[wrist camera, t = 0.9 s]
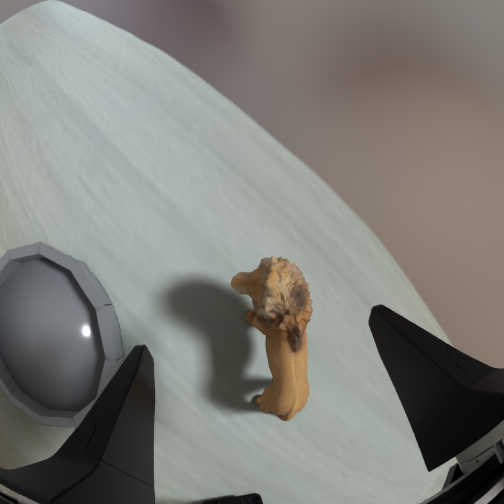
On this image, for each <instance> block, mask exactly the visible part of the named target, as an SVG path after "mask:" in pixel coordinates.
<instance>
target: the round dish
mask: <svg viewBox="0 0 504 504" xmlns="http://www.w3.org/2000/svg"><path fill="white" fill-rule="evenodd" d="M112 304H113V303H112V302H111V300H110V298H109V296H108V294H107V293H106V291H105V289H104V288H103V286H102V284H101V283H100V282H99V280H98V279H97V278H96V277H95V275H94V274H93V273H92V272H91V271H90V269H89V268H88V266H87V265H86V264H85V263H84V262H82V261H79V260H77V259H75V258H73V257H72V256H70V255H67V254H65V253H63V252H61V251H59V250H57V249H55V248H53V247H52V246H49V245H47V244H44V243H42V242H38V243H34V244H30V245H26V246H22V247H18V248H14V249H11V250H8V251H7V252H6V253H5V254H4V256H3V257H2V258H1V259H0V388H1V389H2V391H3V393H4V394H5V396H6V397H7V399H8V400H9V401H10V402H11V403H12V404H14V405H15V406H16V407H18V408H19V409H20V410H22V411H23V412H24V413H26V414H27V415H29V416H30V417H31V418H33V419H34V420H36V421H37V422H39V423H40V424H42V425H50V426H60V427H73V428H77V427H78V426H79V424H80V423H81V422H82V420H83V419H84V417H85V416H86V414H87V413H88V411H89V410H91V407H92V406H93V404H94V403H95V401H96V400H97V398H98V397H99V396H100V394H101V393H102V391H103V390H104V388H105V387H106V386H107V384H108V383H109V381H110V380H111V378H112V377H113V376H114V374H115V373H116V371H117V370H118V369H119V367H120V366H121V364H122V360H123V357H124V356H123V355H124V354H123V350H122V338H121V331H120V327H119V323H118V319H117V316H116V313H115V310H114V305H112Z"/></svg>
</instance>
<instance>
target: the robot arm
mask: <svg viewBox="0 0 504 504" xmlns="http://www.w3.org/2000/svg"><path fill="white" fill-rule="evenodd" d="M369 327H370V330H371V332H372V335H373V338H374V341H375V344H376V346H377V349H378V352H379V355H380V357H381V359H382V361H383V364H384V366H385V368H386V370H387V372H388V374H389V376H390V379H391V381H392V383H393V385H394V387H395V390H396V392H397V394H398V397H399V399H400V401H401V403H402V406H403V408H404V410H405V413H406V415H407V418H408V420H409V422H410V425H411V427H412V430H413V432H414V435H415V438H416V440H417V443H418V446H419V448H420V451H421V454H422V456H423V459H424V462H425V465H426V467H427V470H428V472H430V471H432V470H434V469H435V468H437V467H439V466H441V465H442V464H444V463H446V462H447V461H449V460H450V459H452V458H454V457H456V460H457V463H456V464H455V465H453V466H452V467H450V469H449V472H448V475H447V478H446V480H445V483H444V486H443V488H442V490H441V491H440V492H438V493H437V494H435V495H433V496H432V497H430V498H429V499H427V500H425V501H423V502H422V503H420V504H504V368H503V369H499V368H493V367H490V366H488V365H486V364H484V363H482V362H480V361H478V360H476V359H474V358H472V357H470V356H468V355H466V354H464V353H463V352H461V351H459V350H457V349H456V348H454V347H452V346H451V345H449V344H447V343H446V342H444V341H442V340H441V339H439V338H437V337H436V336H434V335H432V334H431V333H429V332H428V331H426V330H424V329H423V328H421V327H419V326H418V325H416V324H414V323H413V322H411V321H409V320H408V319H406V318H404V317H403V316H401V315H399V314H397V313H396V312H394V311H392V310H391V309H389V308H387V307H386V306H384V305H381V304H380V305H376V306H373V307H372V310H371V313H370V317H369ZM154 416H155V380H154V361H153V357H152V356H151V354H150V352H149V350H148V348H147V346H146V345H136V346H135V347H134V348H133V349H132V351H131V352H130V353H129V355H128V356H127V358H126V359H125V360H124V362H123V363H122V364H121V366H120V367H119V369H118V370H117V371H116V373H115V374H114V376H113V377H112V378H111V380H110V381H109V383H108V384H107V386H106V387H105V388H104V390H103V391H102V393H101V394H100V396H99V397H98V398H97V400H96V401H95V403H94V404H93V406H92V407H91V410H89V411H88V413H87V414H86V416H85V417H84V419H83V420H82V422H81V423H80V424H79V426H78V427H77V428H76V429H75V431H74V432H73V433H72V434H71V436H70V437H69V438H68V439H67V440H66V442H65V443H64V444H63V445H62V446H61V448H60V449H59V450H58V451H57V452H56V453H55V454H54V455H53V456H51V457H50V458H48V459H46V460H43V461H40V462H37V463H34V464H31V465H27V466H24V467H20V468H17V469H12V470H7V469H3V468H1V467H0V484H2V485H4V486H5V487H7V488H9V489H11V490H13V491H14V492H16V493H18V499H16V498H13V497H11V496H9V495H7V494H5V493H3V492H1V491H0V504H155V491H154ZM255 497H257V498H255ZM202 504H263V502H262V499H261V496H260V494H252V495H247V496H243V497H237V498H232V499H226V500H219V501H212V502H204V503H202Z"/></svg>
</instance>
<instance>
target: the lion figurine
mask: <svg viewBox="0 0 504 504" xmlns="http://www.w3.org/2000/svg"><path fill="white" fill-rule="evenodd" d="M298 267H299V266H298V264H292V263H291V262H290V261H288V260H287V259H283V258H282V257H280V258H277V259H276V257H274V256H272V257H271V258H264V259H261V263H260V264H259V267H258V269H256V270H254V271H253V272H250V273H246V272H240V273H238V274H237V275H236V276H234V277H233V279H232V281H231V286H232V287H233V288H234V290H235V291H236V292H237V293H240V294H247V295H249V296H250V297H251V298H252V302H253V306H254V308H255V311H253V310H250V311H249V312H248V313H247V314H246V317H245V319H246V320H247V321H248V322H249V323H250V324H251V325H252V326H255V327H256V328H257V329H258V330H259V331H261V332H262V333H263V334H264V335H266V353H267V358H268V364H269V368H270V371H271V374H272V377H273V382H272V384H270V385H269V386H268V387H267V388H265V390H264V391H263V393H262V395H259V396H257V398H256V399H255V403H256V405H257V406H258V407H259V408H260V410H261V411H262V412H263V413H269V410H270V411H271V412H273V413H274V414H277V416H278V417H279V418H280V419H281V420H283V421H288V420H290V419H292V418H293V417H294V416H295V414H296V413H297V412H299V411H301V410H302V409H303V408H304V406H305V405H306V402H307V399H308V395H309V384H308V379H307V353H308V350H307V336H306V327H307V322H309V321H310V316H311V314H312V310H313V309H312V306H311V303H312V300H310V292H309V291H308V287H309V285H308V283H306V281H305V278H304V277H303V275H302V272H301V270H300V269H299V268H298Z"/></svg>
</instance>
